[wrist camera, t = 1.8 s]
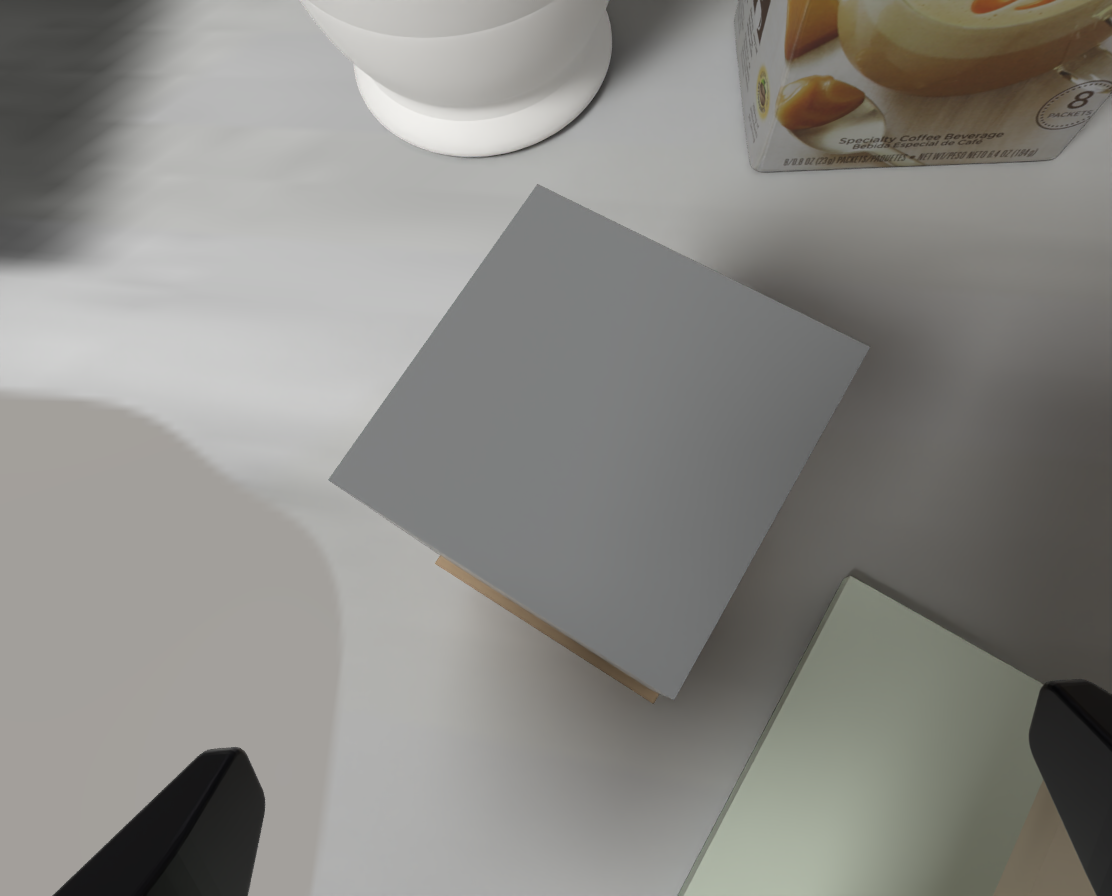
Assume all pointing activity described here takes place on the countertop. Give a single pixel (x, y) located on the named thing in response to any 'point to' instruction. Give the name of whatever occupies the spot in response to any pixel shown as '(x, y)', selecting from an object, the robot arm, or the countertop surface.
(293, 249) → the countertop surface
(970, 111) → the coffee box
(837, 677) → the stand
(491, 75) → the jar
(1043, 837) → the trapdoor
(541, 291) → the basalt block
